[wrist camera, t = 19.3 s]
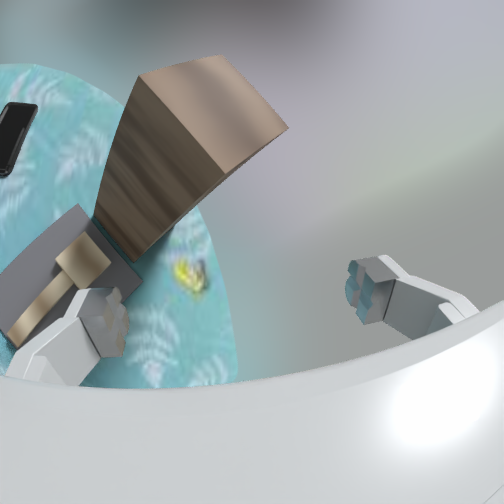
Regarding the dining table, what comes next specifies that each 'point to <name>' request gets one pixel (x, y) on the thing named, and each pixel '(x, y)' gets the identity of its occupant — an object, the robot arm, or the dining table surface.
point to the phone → (14, 132)
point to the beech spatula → (62, 283)
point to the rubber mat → (56, 272)
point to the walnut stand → (178, 147)
